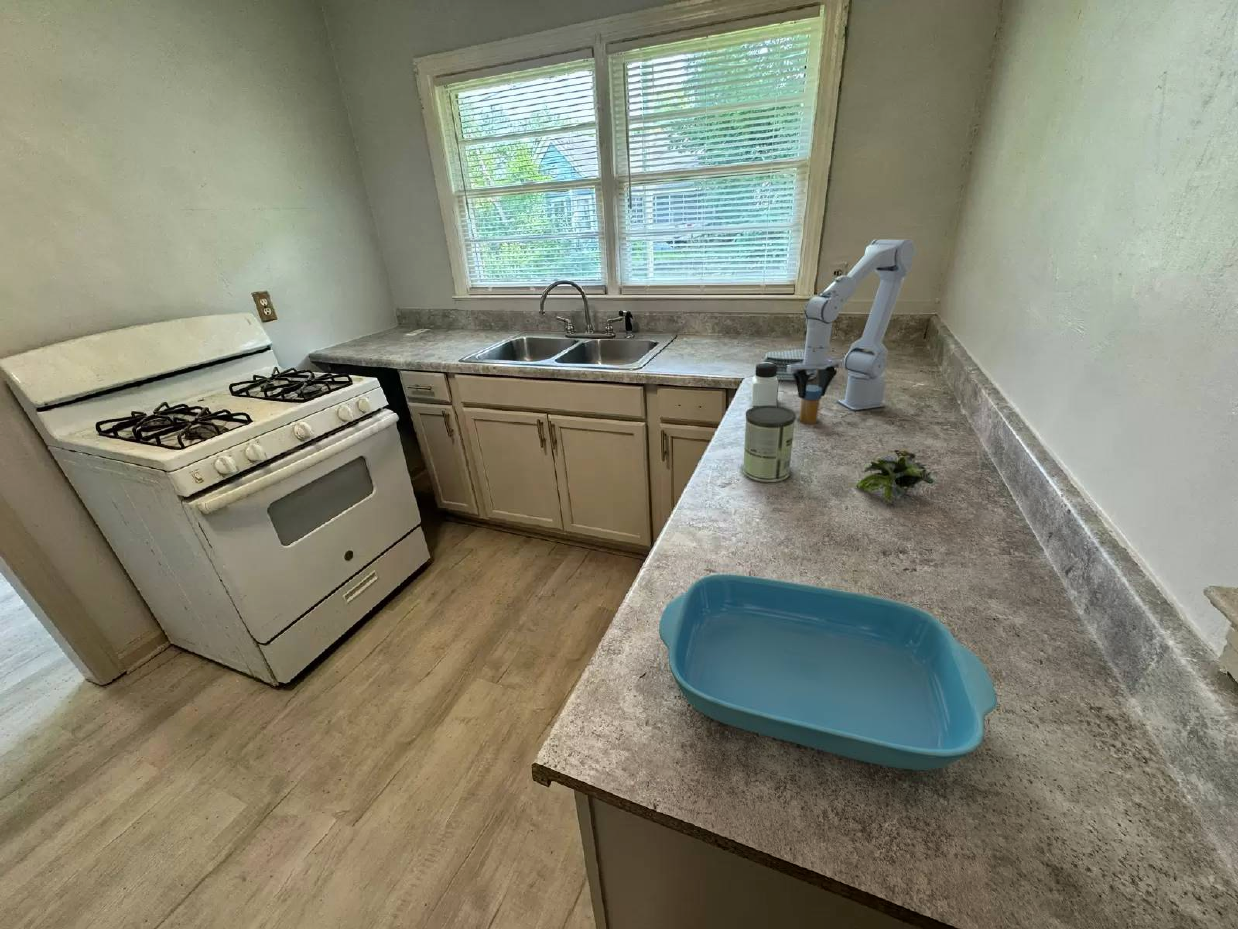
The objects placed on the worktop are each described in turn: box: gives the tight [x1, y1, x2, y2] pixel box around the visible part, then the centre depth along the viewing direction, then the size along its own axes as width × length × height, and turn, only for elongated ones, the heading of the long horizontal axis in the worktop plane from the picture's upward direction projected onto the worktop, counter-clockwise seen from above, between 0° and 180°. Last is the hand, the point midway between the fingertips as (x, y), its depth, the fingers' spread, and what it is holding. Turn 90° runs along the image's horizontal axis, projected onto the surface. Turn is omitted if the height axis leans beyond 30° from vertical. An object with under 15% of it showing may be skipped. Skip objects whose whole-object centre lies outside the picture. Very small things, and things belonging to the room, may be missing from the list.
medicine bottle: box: [750, 361, 779, 407], centre depth 147 cm, size 7×7×12 cm
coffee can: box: [742, 405, 797, 483], centre depth 108 cm, size 10×10×14 cm
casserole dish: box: [658, 573, 998, 771], centre depth 60 cm, size 37×22×7 cm, turn 72°
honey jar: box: [798, 398, 821, 425], centre depth 134 cm, size 5×5×9 cm
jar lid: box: [804, 384, 823, 401], centre depth 132 cm, size 5×5×2 cm
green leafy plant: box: [856, 449, 935, 506], centre depth 98 cm, size 11×11×12 cm
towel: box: [761, 348, 818, 381], centre depth 171 cm, size 15×18×8 cm
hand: (810, 396), depth 133 cm, fingers closed on jar lid, 5 cm apart
